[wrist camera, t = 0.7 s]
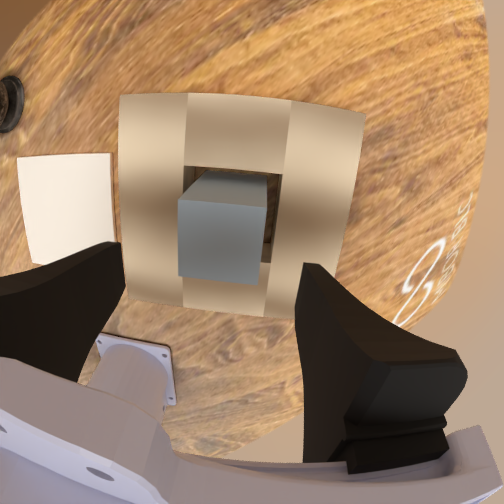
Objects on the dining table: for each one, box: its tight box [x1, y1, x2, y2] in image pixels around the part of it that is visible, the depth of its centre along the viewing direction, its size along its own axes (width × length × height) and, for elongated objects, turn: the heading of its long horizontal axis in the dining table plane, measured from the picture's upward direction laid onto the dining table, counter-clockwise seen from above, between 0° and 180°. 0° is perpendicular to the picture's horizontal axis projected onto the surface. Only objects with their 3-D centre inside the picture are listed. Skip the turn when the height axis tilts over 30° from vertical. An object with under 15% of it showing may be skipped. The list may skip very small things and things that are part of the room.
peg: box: [178, 170, 267, 285], centre depth 17 cm, size 4×4×7 cm
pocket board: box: [118, 93, 366, 320], centre depth 19 cm, size 14×14×3 cm
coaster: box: [17, 153, 117, 265], centre depth 21 cm, size 10×10×1 cm
